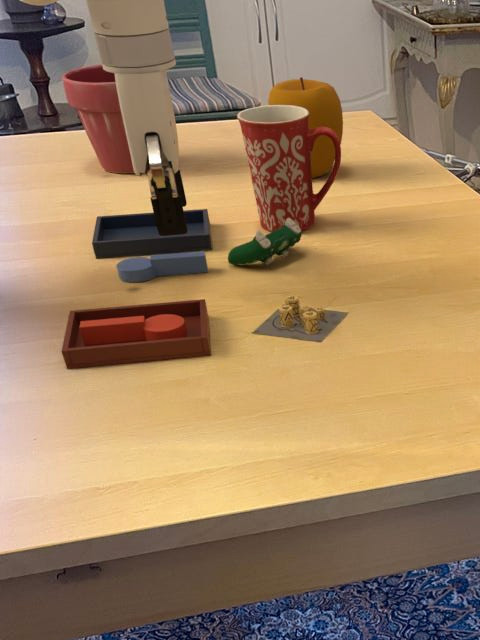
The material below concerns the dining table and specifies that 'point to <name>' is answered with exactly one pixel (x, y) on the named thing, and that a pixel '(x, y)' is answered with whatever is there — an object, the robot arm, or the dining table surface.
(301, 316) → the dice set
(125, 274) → the blue spoon
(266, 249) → the green elongated piece
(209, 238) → the blue tray
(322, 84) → the apple
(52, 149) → the dining table surface
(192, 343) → the red tray
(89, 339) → the red spoon
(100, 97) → the flower pot
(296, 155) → the mug
